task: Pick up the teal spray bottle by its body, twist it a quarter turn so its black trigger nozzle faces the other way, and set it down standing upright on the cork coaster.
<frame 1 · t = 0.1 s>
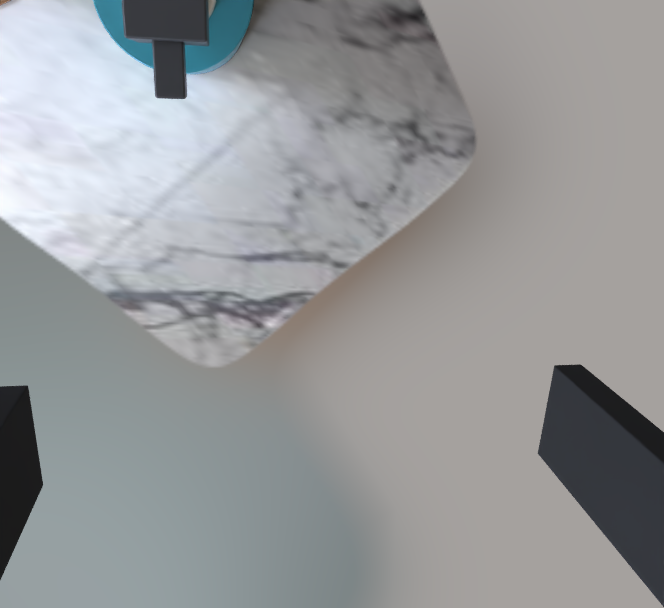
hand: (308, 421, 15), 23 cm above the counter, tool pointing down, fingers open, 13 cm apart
spray bottle: (189, 13, 32), on the counter
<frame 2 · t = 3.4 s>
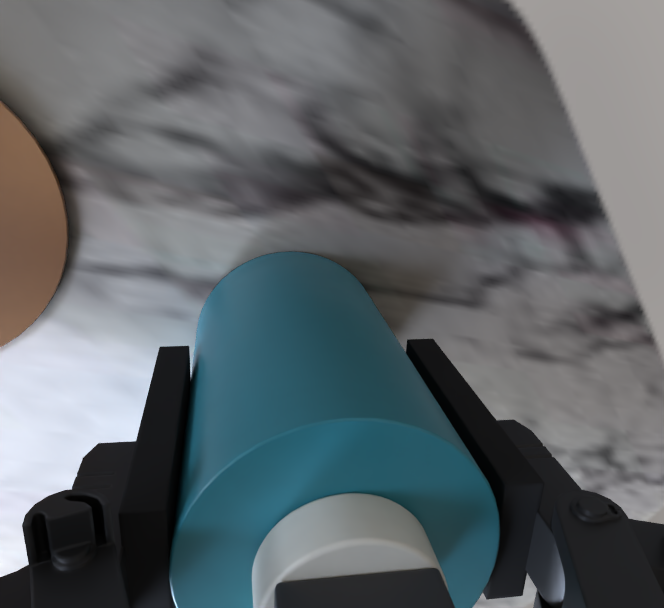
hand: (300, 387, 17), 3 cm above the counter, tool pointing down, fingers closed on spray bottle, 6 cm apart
spray bottle: (289, 338, 20), on the counter, touching gripper
when the fingers open (4 cm above the counter, at t = 12.0 s): spray bottle stays where it is, resting on coaster.
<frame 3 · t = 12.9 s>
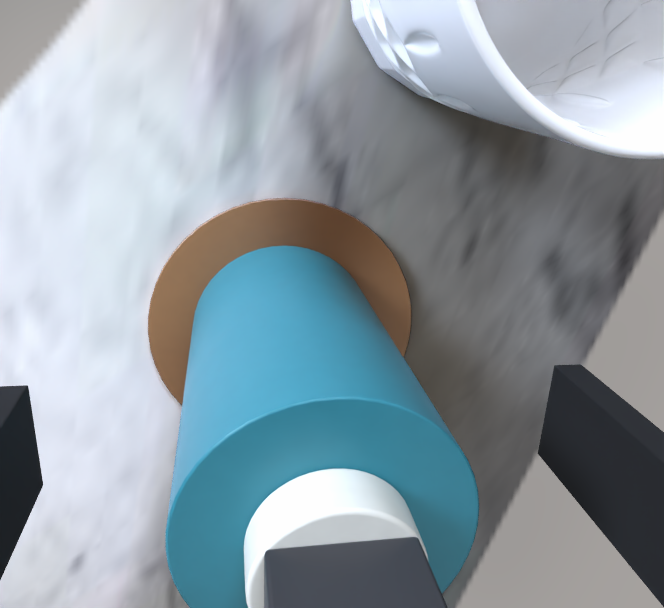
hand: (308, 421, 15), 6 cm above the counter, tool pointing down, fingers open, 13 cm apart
coaster: (283, 327, 21), on the counter
spray bottle: (282, 330, 21), resting on coaster
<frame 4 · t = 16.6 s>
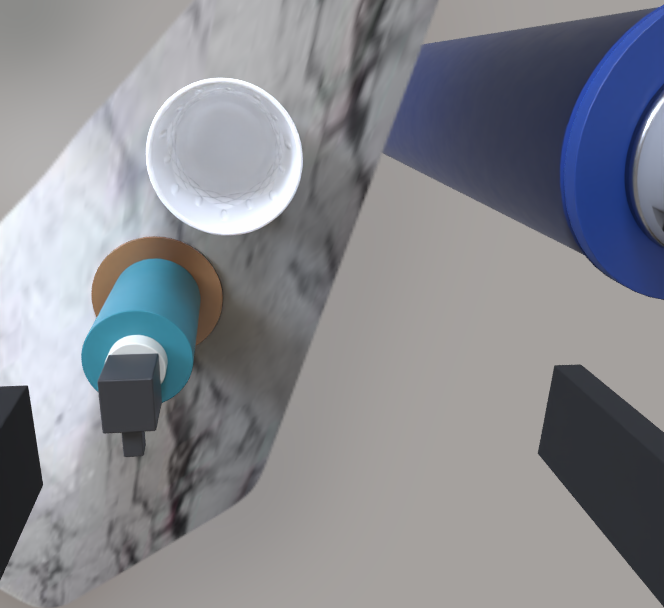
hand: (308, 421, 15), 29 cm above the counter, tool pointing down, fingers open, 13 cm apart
coaster: (158, 297, 43), on the counter
white cup: (226, 140, 40), on the counter
spray bottle: (157, 298, 43), resting on coaster
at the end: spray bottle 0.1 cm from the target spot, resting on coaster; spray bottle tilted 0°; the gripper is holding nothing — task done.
